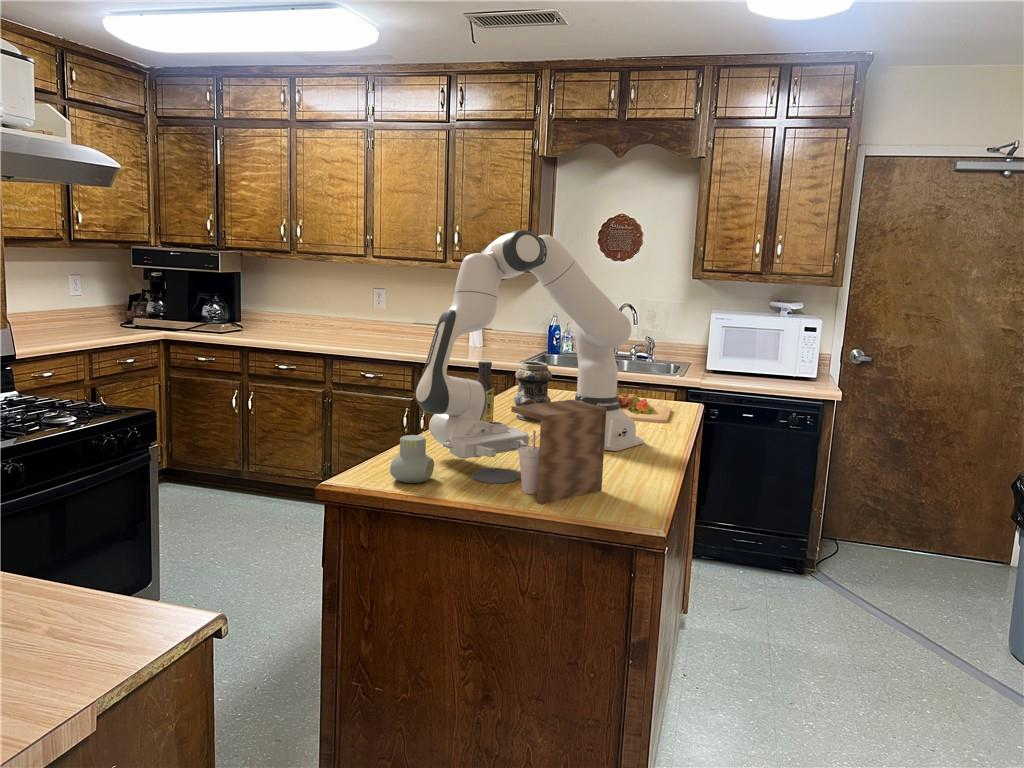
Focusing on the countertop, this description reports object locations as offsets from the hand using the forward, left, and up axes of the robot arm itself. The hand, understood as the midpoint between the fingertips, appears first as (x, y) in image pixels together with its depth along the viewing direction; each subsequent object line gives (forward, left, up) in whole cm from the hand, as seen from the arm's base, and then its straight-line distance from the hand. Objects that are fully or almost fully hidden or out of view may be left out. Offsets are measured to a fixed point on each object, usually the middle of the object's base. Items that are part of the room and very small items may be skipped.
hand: (509, 451), depth 181 cm
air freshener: (+18, -13, -8) cm, 24 cm away
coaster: (0, -5, -7) cm, 9 cm away
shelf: (-5, +10, -8) cm, 14 cm away
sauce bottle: (-30, -51, -8) cm, 60 cm away
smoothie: (0, +8, -8) cm, 11 cm away
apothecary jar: (-51, -53, -8) cm, 74 cm away
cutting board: (-84, -47, -8) cm, 97 cm away
